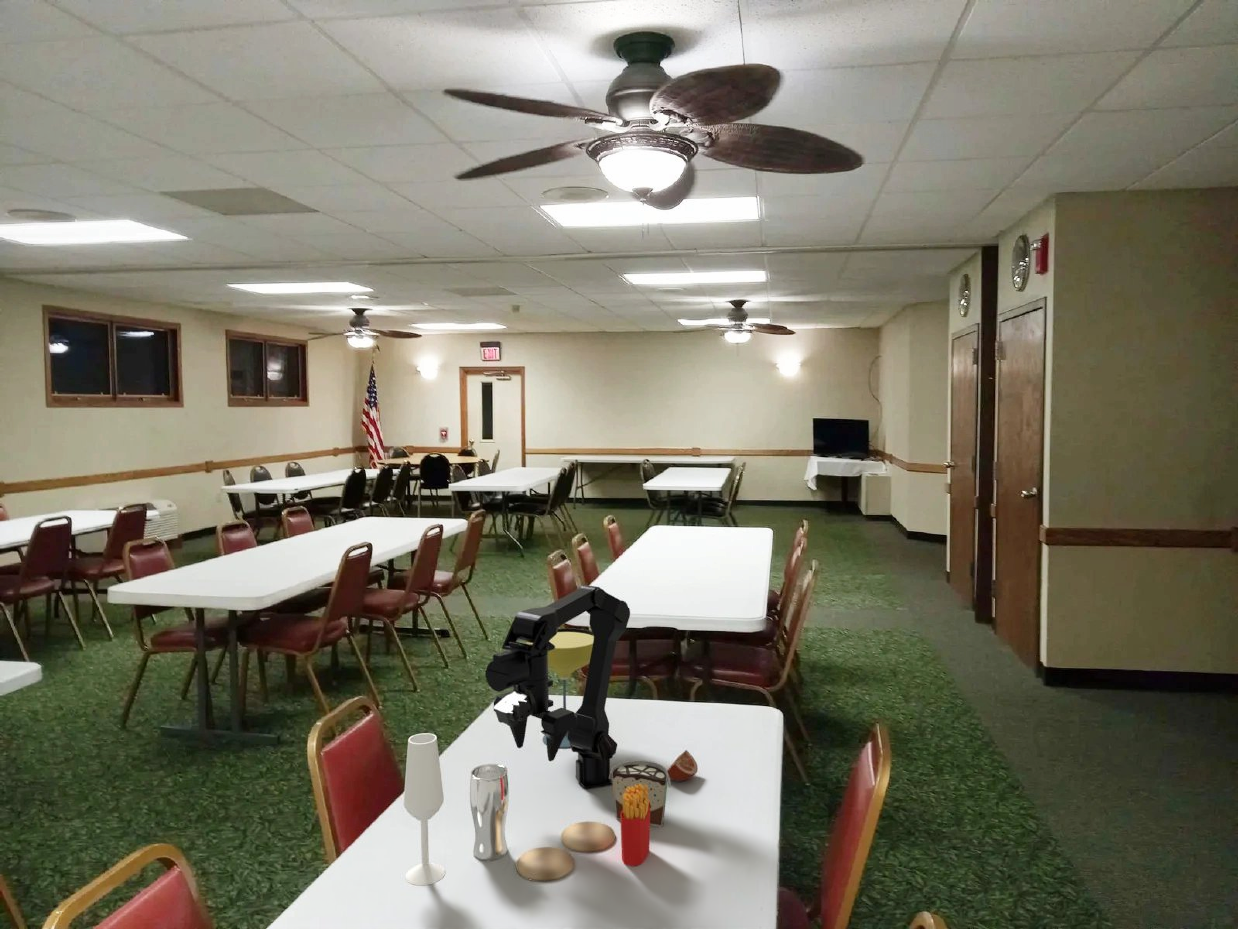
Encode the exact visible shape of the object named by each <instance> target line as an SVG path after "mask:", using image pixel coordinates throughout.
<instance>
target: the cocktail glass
mask: <svg viewBox="0 0 1238 929" xmlns="http://www.w3.org/2000/svg"><path fill="white" fill-rule="evenodd" d="M593 640H594V636H593V633H592V630H588V629H583V628H581V629H580V628H566V627H565V628H558V631H557V634H556V635H555V636H554V637H553V638H552V639H551V640H549V642H551V643H552V644H553V645H555V649H553V650H550V651H548V670H550V671H552V672H554V673H555V674H556V675H557V676H558V678H559V679H560V680H562V684H563V685H562V690H563V691H562V696H563V698H562V702H563V703H562V704H563V705H562V708H564V709H567V695H566V694H567V693H566V692H567V691H566V690H567V689H566V686H567V684H566V682H567V681H566V680H568V679H569V678H570V677H571V675H572V674H573V673H574V672H576V670H579V669H581V668H583V667H585V666H587V665H589V662H590V657H591V651H592V646H593ZM525 644H529V645H531V644H533V643H530V642H526V643H525ZM542 741H543V743H544V744H545V745H546V746H547V742H546V736H545V735H543V737H542ZM569 748H571V746H570V742H569V740H568V732H567V733H566V735H565V737H564V739H563V741H562V743H561V745H560V747H559V749H569Z"/></svg>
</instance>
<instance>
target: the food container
mask: <svg viewBox="0 0 1238 929" xmlns="http://www.w3.org/2000/svg"><path fill="white" fill-rule="evenodd" d="M667 770H668V769H667V768H666V767H664V766H663V765H662V764H659V763H657V762H654V761H648V760H629V761H624V762H620V763H618V764H615V765H614V766H612V768H610V775H609V779H610V778H611V780H612V784H611V785H612V790H613V801H614V802H613V803H614V809H615V819H616V820H618V821H621V820H620V813H621V812H622V810H623V800H622V797H623V794H624V793H626V791H625V789H627V787H630V788H631V786H633V787H634V785H635V784H636V785H637V786H638V784H641V785H642V786H643V787H645V785H647V786H648V800H649V802H650V826H653V827H659V828H660V827H663V826H664V823H665V822H664V820H665V810H666V802H667V790H668V788H671V785H672V783H671V779H670V777H669V774H668V772H667ZM644 791H645V789H644Z"/></svg>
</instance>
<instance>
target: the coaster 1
mask: <svg viewBox="0 0 1238 929" xmlns="http://www.w3.org/2000/svg"><path fill="white" fill-rule="evenodd" d="M574 864H575V860H574V857H573V855H572V854H571V853H570V852H569V851H568V850H565V849H563V848H560V847H554V846H541V847H536V848H533V849H529V850H527V851H525V852H524V853H522V854H521V855H520V856H519V857H518V859H517V860H516V870H517V873H518V874H519V875H520V876H521V877H522V878H524V877H525V878H524V879H526V878H527V880H529V879H531V880H530V881H533V880H534V881H533V882H552V881H556V880H560V879H562V878H564V877H566V876H567V875H569V874H570V873H571V872H572V871H573V869H574Z"/></svg>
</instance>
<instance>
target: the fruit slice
mask: <svg viewBox="0 0 1238 929" xmlns="http://www.w3.org/2000/svg"><path fill="white" fill-rule="evenodd" d="M697 763H698V762H697V761H696V759H695V757H694V756H692V754H691V753H690V752H689V751H688V750H687V749H686V750H684V751H683V752H682V753H681V754H679V755H678V757H677V758H676V759H675V760H674V761H673V763H672V764H671V765H670V766H669V767H668V768H667V769H666V770H667V772H668V774H669V777H670V780H673V781H677V782H682V781H685V780H688V779H689V780H690V779H691V778H693V777H694V776H696V774H697V772H698V764H697Z"/></svg>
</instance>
